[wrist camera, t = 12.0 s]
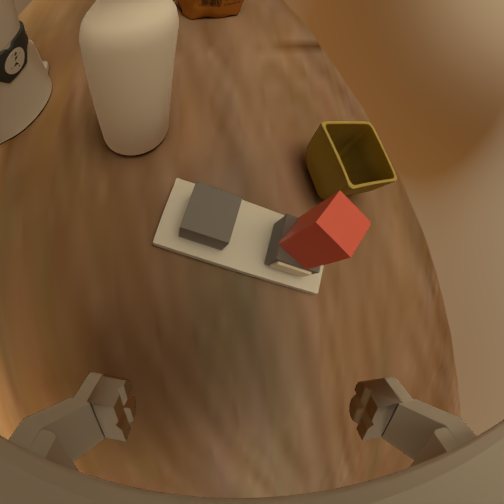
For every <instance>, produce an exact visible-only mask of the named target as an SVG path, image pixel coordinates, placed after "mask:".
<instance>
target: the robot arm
mask: <svg viewBox="0 0 504 504" xmlns="http://www.w3.org/2000/svg"><path fill="white" fill-rule="evenodd" d="M48 71H49V64H48V63H47V61H42V60H41V58H40V55H39V53H38V51H37V49H36V47H35V45H34V43H33V41H32V40H28V37H27V31H26V28H25V27H24V25H23V23H22V22H21V21H19V19H18V15H17V12H16V8H15V4H14V0H0V144H1V143H2V142H4V141H6V140H8V139H10V138H12V137H14V136H15V135H17V134H18V133H20V132H21V131H22V130H23V129H25V128H26V127H27V126H28V125H29V124H30V123H31V122H32V121H33V120H34V119H35V118H36V117H37V116H38V115H39V113H40V112H41V111H42V109H43V108H44V106H45V105H46V103H47V101H48V99H49V97H50V94H51V90H52V82H51V79H50V77H49V75H48ZM131 390H132V385H131V381H130V380H129V379H125V378H120V377H115V376H110V375H105V374H104V375H103V374H99V373H95V372H91V373H89V375H88V376H87V378H86V379H85V381H84V382H83V384H82V385H81V387H80V389H79V390H78V392H77V393H76V395H75V396H74V398H68V399H66V400H64V401H61V402H59V403H57V404H55V405H53V406H51V407H48V408H46V409H44V410H42V411H40V412H37V413H35V414H33V415H30V416H28V417H26V418H24V419H22V421H21V422H20V424H19V425H18V427H17V428H16V430H15V431H14V433H13V434H12V436H11V437H10V439H9V440H7V439H6V438H4V437H2V436H0V504H504V420H502V421H501V422H499V423H498V424H496V425H495V426H493V427H491V428H490V429H488V430H486V431H485V432H483V433H481V434H480V435H478V436H476V435H475V434H474V433H473V432H472V430H471V429H470V428H469V427H468V426H467V424H466V423H465V422H464V421H463V420H462V418H459V417H457V416H454V415H452V414H450V413H447V412H445V411H442V410H440V409H438V408H435V407H433V406H431V405H428V404H426V403H424V402H422V401H419V400H417V399H415V400H413V399H412V398H411V396H410V395H409V394H408V392H407V391H406V390H405V389H404V387H403V386H402V385H401V383H400V382H399V381H398V380H397V378H396V377H394V376H389V377H384V378H379V379H373V380H367V381H360V382H358V383H357V384H356V387H355V391H356V393H357V394H356V395H355V396H353V397H352V398H351V402H350V406H349V412H350V416H351V418H352V420H353V421H354V422H356V423H357V424H358V426H357V428H356V429H357V431H358V433H359V435H360V437H361V439H362V441H363V440H368V439H373V438H378V437H382V438H383V439H384V440H386V441H387V442H389V443H390V444H391V445H393V446H394V447H396V448H397V449H399V450H400V451H402V452H403V453H404V454H406V455H407V456H409V457H410V458H412V459H413V460H414V461H413V463H412V464H411V465H410V467H409V468H407V469H404V470H401V471H398V472H395V473H392V474H389V475H386V476H383V477H380V478H376V479H373V480H369V481H365V482H362V483H358V484H353V485H349V486H345V487H340V488H335V489H330V490H325V491H319V492H312V493H305V494H298V495H289V496H278V497H263V498H212V497H197V496H186V495H177V494H170V493H163V492H157V491H151V490H145V489H140V488H135V487H131V486H126V485H122V484H118V483H114V482H111V481H107V480H103V479H100V478H97V477H93V476H90V475H87V474H84V473H81V472H79V471H78V469H77V468H76V466H75V465H74V463H73V462H74V461H76V460H77V459H78V458H80V457H81V456H82V455H84V454H85V453H86V452H88V451H89V450H90V449H92V448H93V447H94V446H95V445H97V444H98V443H99V442H101V441H102V440H103V439H104V437H106V438H110V439H115V440H120V441H125V442H126V440H127V438H128V435H129V432H130V425H129V423H130V422H131V421H133V420H134V417H135V413H136V401H135V397H134V396H133V395H132V394H131V393H130V392H131Z"/></svg>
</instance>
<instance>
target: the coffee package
mask: <svg viewBox="0 0 504 504" xmlns="http://www.w3.org/2000/svg"><path fill="white" fill-rule="evenodd" d="M242 3H243V0H178V5H179V7H181V9H182V14H183V15H184V16H186V17H187V18H189V19H198V18H202V17H213V18H222V17H226V16H230V15H237V14H238V13H239V11H240V8H241V6H242Z"/></svg>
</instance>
